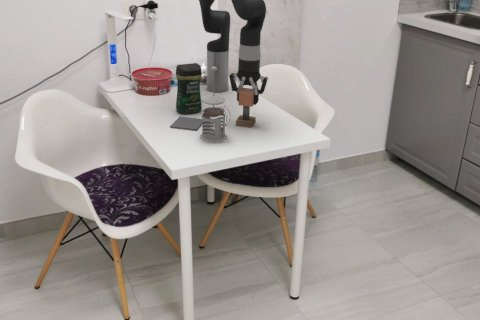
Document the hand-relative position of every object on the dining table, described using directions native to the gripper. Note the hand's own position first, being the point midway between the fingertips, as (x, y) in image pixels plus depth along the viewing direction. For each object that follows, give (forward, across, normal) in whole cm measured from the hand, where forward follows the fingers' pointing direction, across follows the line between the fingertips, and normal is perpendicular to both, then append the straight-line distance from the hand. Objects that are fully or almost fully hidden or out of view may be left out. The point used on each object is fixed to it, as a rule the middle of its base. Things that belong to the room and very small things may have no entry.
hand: (247, 102), depth 193 cm
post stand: (+8, 0, 0) cm, 8 cm away
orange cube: (0, 0, 0) cm, 0 cm away
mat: (+8, -20, -7) cm, 23 cm away
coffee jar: (+8, -24, +6) cm, 26 cm away
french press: (+8, -7, -16) cm, 19 cm away
